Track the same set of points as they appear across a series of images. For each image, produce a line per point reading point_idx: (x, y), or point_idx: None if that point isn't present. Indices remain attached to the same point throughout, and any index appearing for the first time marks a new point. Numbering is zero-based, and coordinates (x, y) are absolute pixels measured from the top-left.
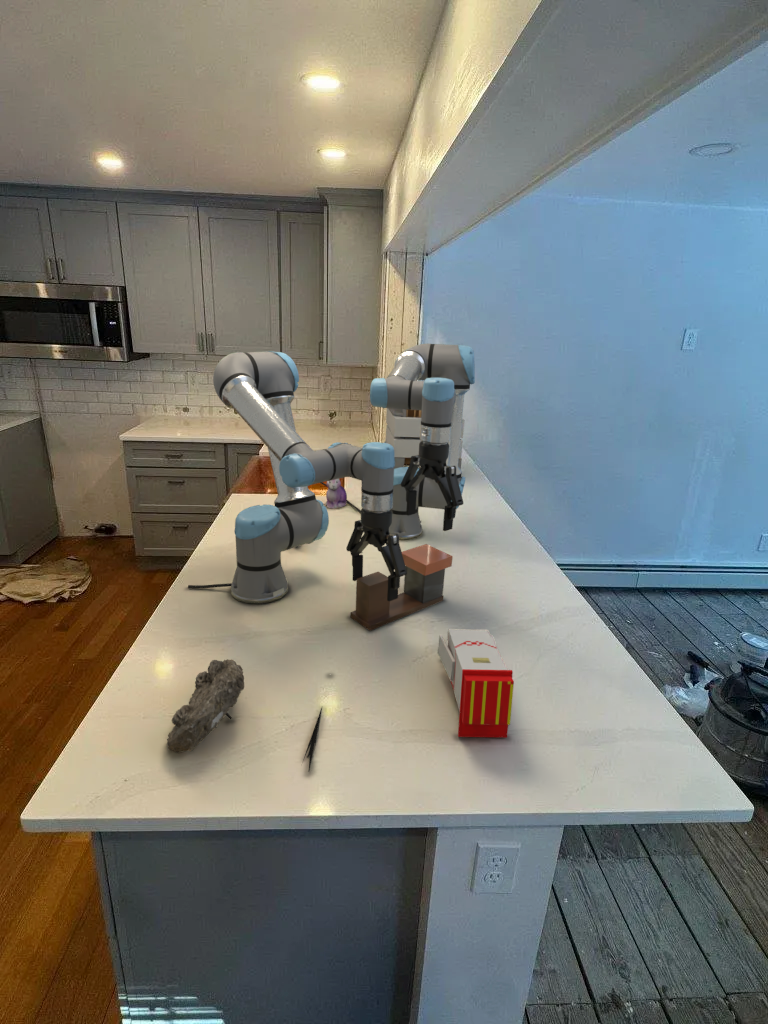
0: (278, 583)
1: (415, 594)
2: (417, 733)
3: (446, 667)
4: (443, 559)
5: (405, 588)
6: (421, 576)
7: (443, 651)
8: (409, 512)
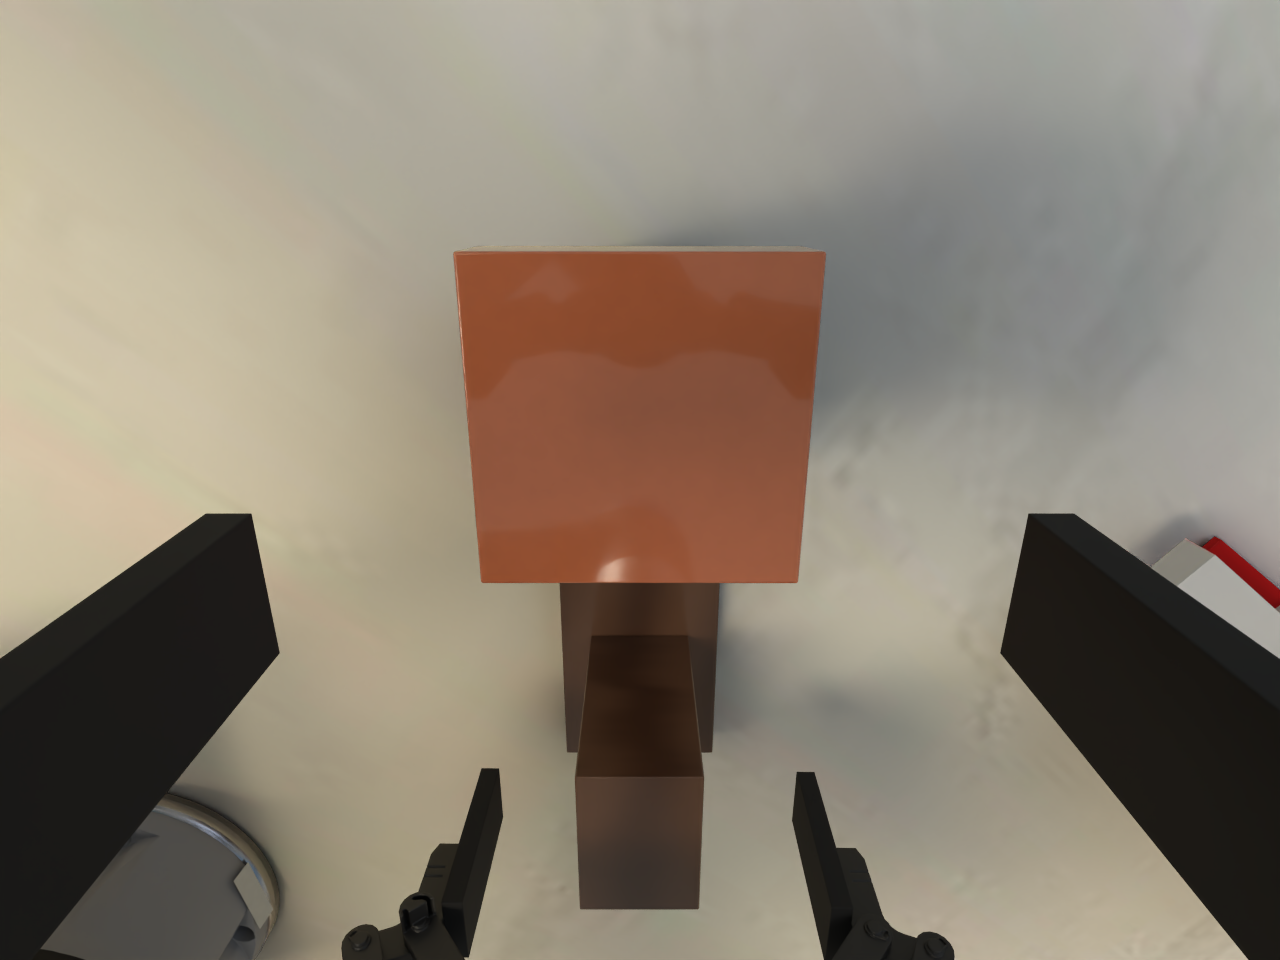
0: (217, 921)
1: None
2: (1212, 928)
3: None
4: (814, 380)
5: None
6: None
7: None
8: (253, 657)
